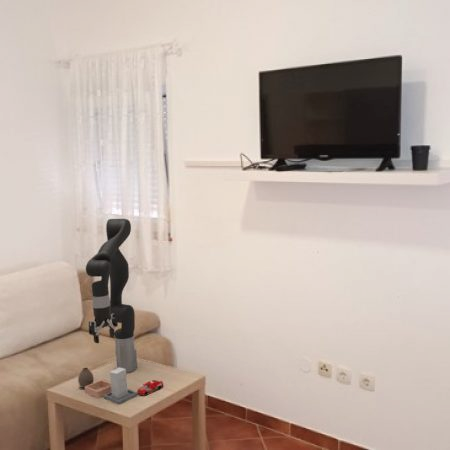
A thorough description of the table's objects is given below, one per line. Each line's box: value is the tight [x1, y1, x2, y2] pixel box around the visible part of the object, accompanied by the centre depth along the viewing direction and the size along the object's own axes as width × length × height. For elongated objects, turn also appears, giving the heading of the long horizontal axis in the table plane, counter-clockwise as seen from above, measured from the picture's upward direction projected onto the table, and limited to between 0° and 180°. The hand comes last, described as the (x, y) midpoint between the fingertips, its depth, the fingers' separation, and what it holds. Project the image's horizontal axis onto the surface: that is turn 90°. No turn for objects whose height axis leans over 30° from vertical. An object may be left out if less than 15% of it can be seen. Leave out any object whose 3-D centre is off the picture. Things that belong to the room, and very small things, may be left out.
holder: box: [84, 379, 112, 399], centre depth 256 cm, size 9×9×3 cm
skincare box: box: [109, 367, 128, 399], centre depth 249 cm, size 6×4×12 cm
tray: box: [103, 388, 138, 405], centre depth 250 cm, size 10×10×2 cm
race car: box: [136, 379, 164, 396], centre depth 255 cm, size 13×5×4 cm, turn 135°
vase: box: [77, 367, 95, 389], centre depth 262 cm, size 7×7×9 cm
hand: (104, 339), depth 252 cm, fingers open, 8 cm apart
